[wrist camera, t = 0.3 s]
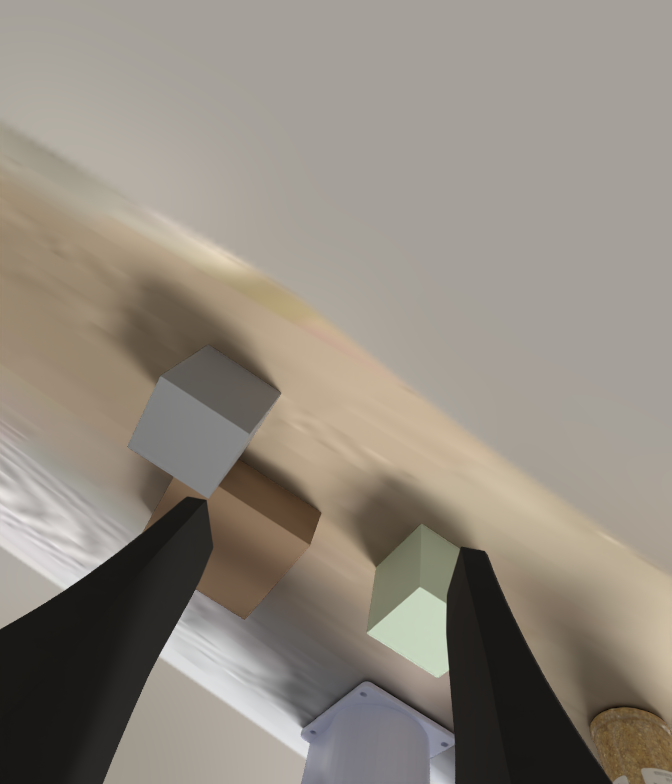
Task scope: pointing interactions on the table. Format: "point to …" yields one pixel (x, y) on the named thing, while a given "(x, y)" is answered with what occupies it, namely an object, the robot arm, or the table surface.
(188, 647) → the table surface
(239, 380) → the grey block
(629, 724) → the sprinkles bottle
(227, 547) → the walnut block
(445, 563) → the sage block
